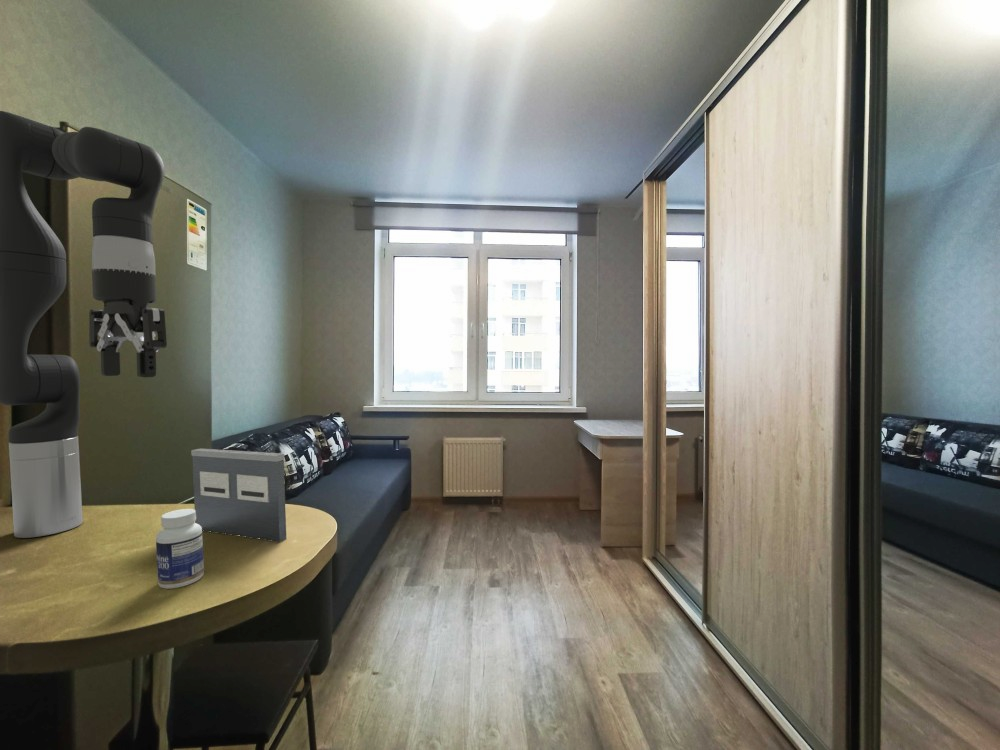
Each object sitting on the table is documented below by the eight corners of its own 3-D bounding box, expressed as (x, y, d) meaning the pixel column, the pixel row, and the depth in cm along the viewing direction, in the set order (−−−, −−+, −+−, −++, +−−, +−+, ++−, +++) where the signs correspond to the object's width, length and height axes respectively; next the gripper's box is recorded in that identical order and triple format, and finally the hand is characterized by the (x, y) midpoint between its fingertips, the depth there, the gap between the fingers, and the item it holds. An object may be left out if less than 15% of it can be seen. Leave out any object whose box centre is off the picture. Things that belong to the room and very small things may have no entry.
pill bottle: (154, 581, 64) (151, 514, 64) (198, 568, 68) (195, 504, 68) (162, 594, 60) (159, 522, 60) (208, 579, 64) (205, 512, 64)
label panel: (194, 530, 83) (190, 450, 83) (203, 526, 85) (200, 448, 85) (278, 542, 77) (275, 456, 76) (287, 538, 79) (284, 453, 78)
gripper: (181, 272, 70) (184, 376, 71) (122, 277, 75) (125, 374, 76) (127, 263, 63) (131, 379, 64) (66, 269, 68) (70, 376, 69)
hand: (128, 376), depth 70 cm, fingers open, 8 cm apart
